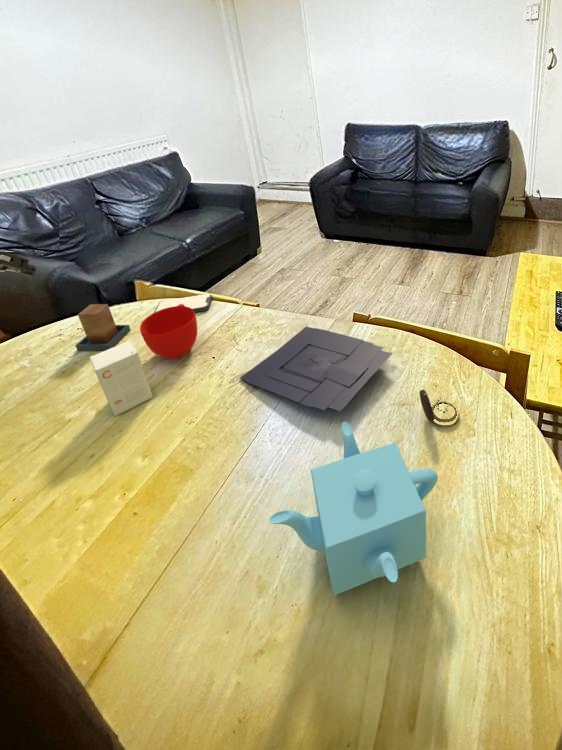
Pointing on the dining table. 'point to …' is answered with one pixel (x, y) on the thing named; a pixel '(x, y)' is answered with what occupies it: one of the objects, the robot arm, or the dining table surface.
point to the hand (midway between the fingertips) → (15, 272)
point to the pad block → (98, 323)
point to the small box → (121, 377)
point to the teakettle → (365, 514)
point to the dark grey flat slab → (318, 368)
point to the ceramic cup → (170, 331)
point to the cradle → (86, 346)
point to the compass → (429, 410)
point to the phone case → (188, 302)
